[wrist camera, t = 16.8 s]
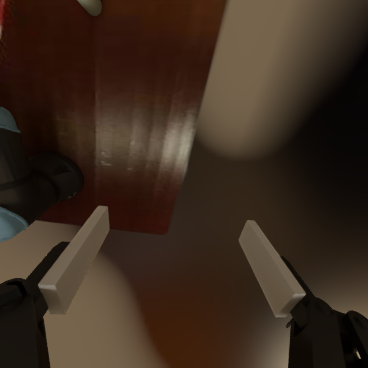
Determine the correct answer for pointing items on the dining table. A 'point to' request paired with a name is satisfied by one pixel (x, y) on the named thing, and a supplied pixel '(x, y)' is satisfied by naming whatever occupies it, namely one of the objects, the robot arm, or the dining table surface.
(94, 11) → the short pin
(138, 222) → the dining table surface
